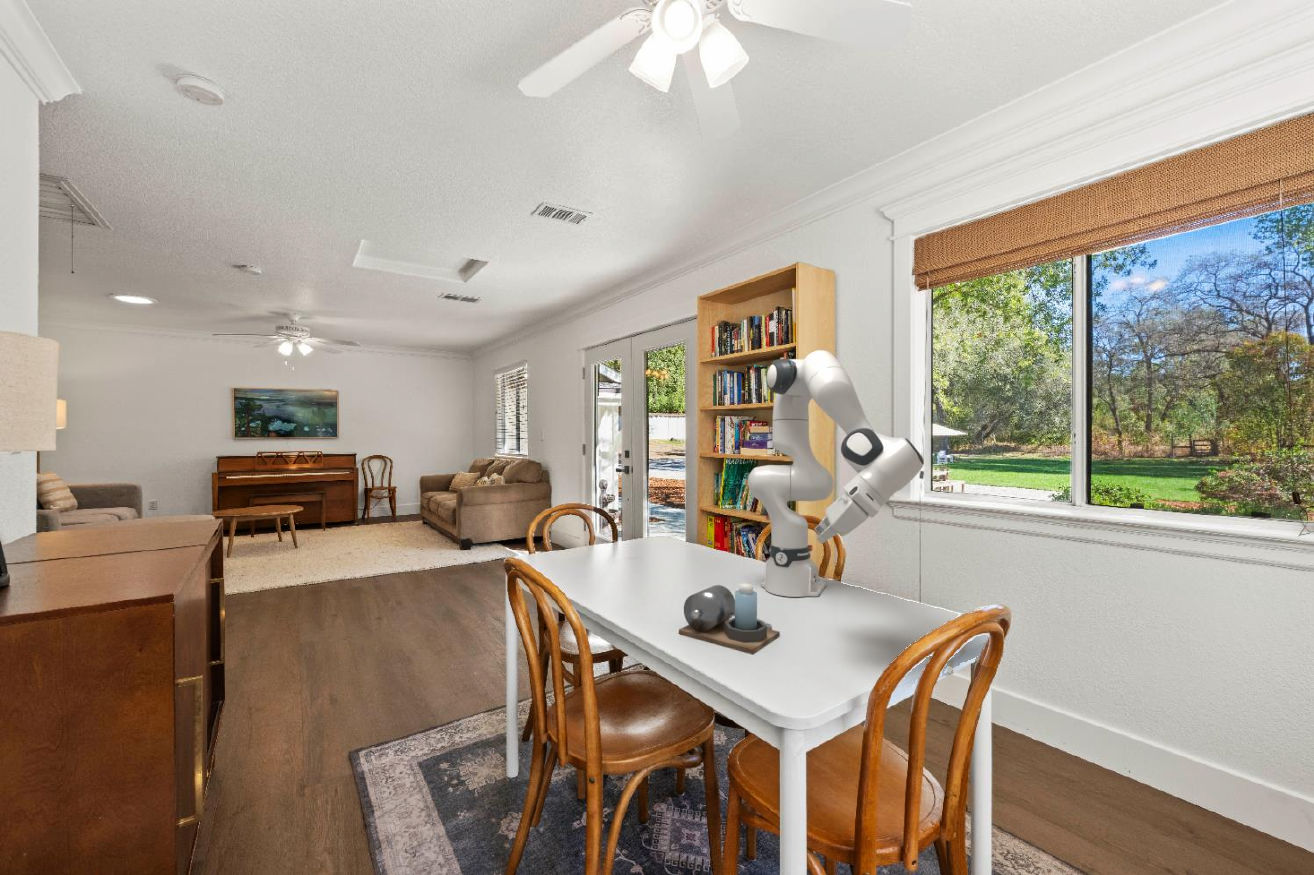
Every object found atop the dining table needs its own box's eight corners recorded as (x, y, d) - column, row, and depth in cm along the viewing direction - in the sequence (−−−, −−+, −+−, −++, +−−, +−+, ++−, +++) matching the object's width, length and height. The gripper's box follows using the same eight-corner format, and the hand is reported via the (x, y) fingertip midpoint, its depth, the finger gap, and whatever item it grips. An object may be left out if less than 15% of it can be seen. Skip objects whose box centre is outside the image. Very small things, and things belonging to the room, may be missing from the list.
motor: (705, 616, 145) (705, 582, 145) (735, 624, 139) (735, 588, 139) (678, 629, 135) (679, 592, 135) (710, 638, 130) (710, 599, 130)
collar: (737, 625, 138) (738, 615, 138) (771, 633, 133) (771, 623, 133) (718, 636, 131) (719, 625, 131) (753, 645, 125) (754, 634, 125)
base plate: (709, 618, 146) (709, 614, 146) (779, 635, 134) (779, 631, 134) (678, 633, 135) (678, 629, 135) (752, 654, 123) (752, 649, 123)
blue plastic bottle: (741, 629, 136) (741, 580, 136) (760, 634, 132) (761, 584, 132) (730, 635, 132) (731, 584, 131) (750, 640, 128) (750, 588, 128)
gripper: (847, 481, 138) (806, 518, 141) (857, 492, 118) (809, 535, 121) (865, 500, 137) (824, 537, 140) (879, 514, 117) (830, 557, 120)
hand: (817, 536), depth 130 cm, fingers open, 8 cm apart
